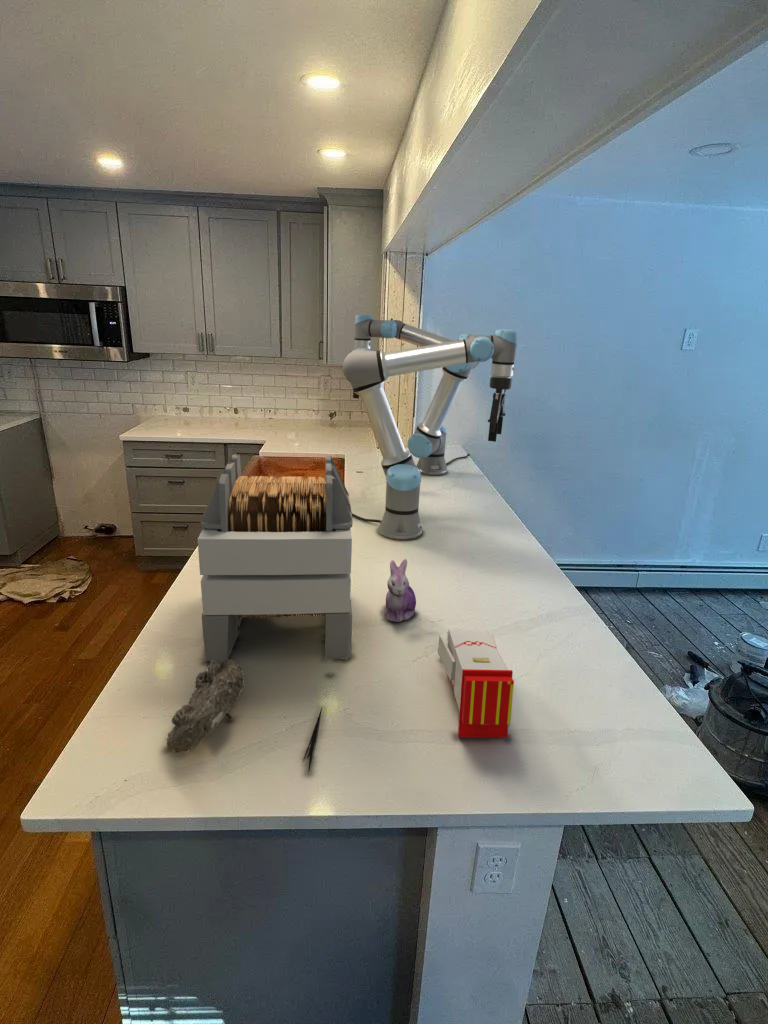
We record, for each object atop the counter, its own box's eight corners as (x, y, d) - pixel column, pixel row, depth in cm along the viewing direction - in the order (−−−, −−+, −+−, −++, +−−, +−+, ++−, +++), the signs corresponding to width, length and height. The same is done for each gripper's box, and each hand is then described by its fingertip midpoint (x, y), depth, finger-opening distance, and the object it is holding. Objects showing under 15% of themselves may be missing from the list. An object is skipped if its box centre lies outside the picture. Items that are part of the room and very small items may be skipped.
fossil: (192, 660, 117) (244, 628, 112) (224, 691, 120) (276, 661, 115) (142, 746, 98) (202, 712, 93) (182, 779, 101) (242, 748, 96)
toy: (488, 613, 130) (523, 677, 101) (484, 667, 133) (517, 744, 104) (435, 612, 130) (455, 676, 101) (432, 666, 133) (451, 743, 103)
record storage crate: (225, 590, 155) (217, 445, 141) (345, 589, 159) (348, 447, 145) (202, 664, 123) (188, 485, 110) (352, 660, 127) (356, 487, 113)
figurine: (392, 627, 141) (395, 572, 136) (374, 608, 149) (376, 556, 144) (425, 619, 145) (429, 566, 140) (405, 601, 154) (408, 550, 149)
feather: (331, 679, 122) (336, 673, 122) (307, 777, 96) (313, 769, 95) (324, 675, 122) (329, 669, 121) (298, 772, 95) (304, 764, 95)
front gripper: (508, 381, 183) (500, 445, 190) (516, 374, 205) (509, 432, 213) (484, 379, 185) (478, 443, 192) (495, 372, 208) (489, 430, 215)
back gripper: (360, 351, 249) (359, 400, 256) (378, 349, 272) (376, 393, 279) (344, 350, 251) (344, 399, 258) (363, 348, 274) (362, 392, 281)
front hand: (494, 437), depth 203 cm, fingers open, 13 cm apart
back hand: (360, 396), depth 268 cm, fingers open, 13 cm apart
